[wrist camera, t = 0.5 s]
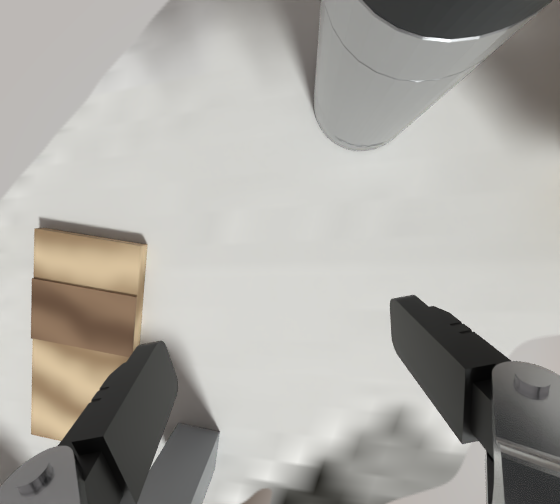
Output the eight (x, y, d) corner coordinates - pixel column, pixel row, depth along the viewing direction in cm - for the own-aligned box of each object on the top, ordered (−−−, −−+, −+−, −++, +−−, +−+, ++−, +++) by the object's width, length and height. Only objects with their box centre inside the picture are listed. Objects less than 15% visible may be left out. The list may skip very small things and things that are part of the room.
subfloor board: (44, 228, 31) (32, 228, 30) (147, 244, 30) (139, 246, 29) (40, 426, 35) (29, 435, 33) (131, 446, 34) (124, 456, 32)
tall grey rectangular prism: (176, 422, 33) (103, 540, 21) (219, 431, 32) (169, 556, 21) (173, 459, 33) (100, 593, 22) (214, 468, 33) (163, 610, 21)
